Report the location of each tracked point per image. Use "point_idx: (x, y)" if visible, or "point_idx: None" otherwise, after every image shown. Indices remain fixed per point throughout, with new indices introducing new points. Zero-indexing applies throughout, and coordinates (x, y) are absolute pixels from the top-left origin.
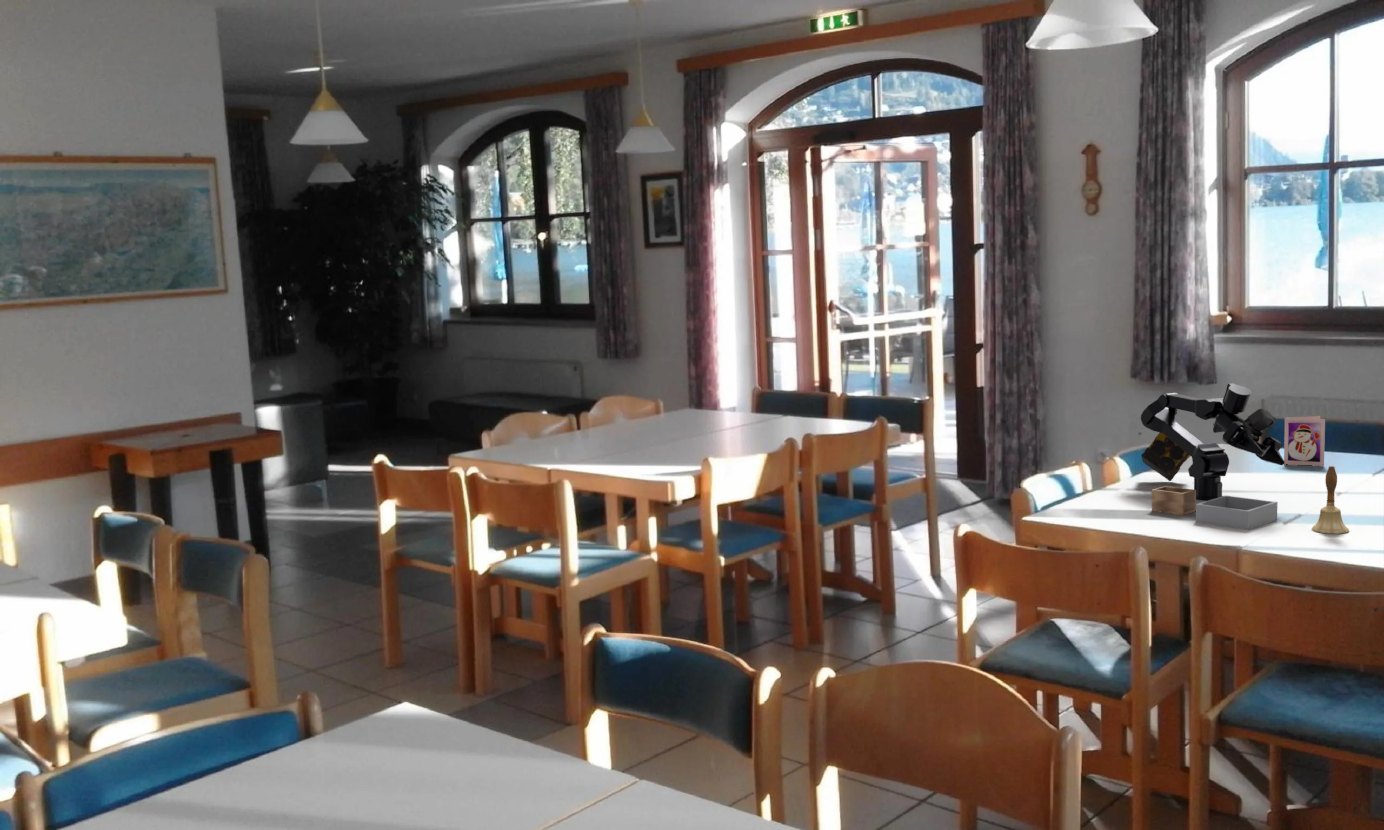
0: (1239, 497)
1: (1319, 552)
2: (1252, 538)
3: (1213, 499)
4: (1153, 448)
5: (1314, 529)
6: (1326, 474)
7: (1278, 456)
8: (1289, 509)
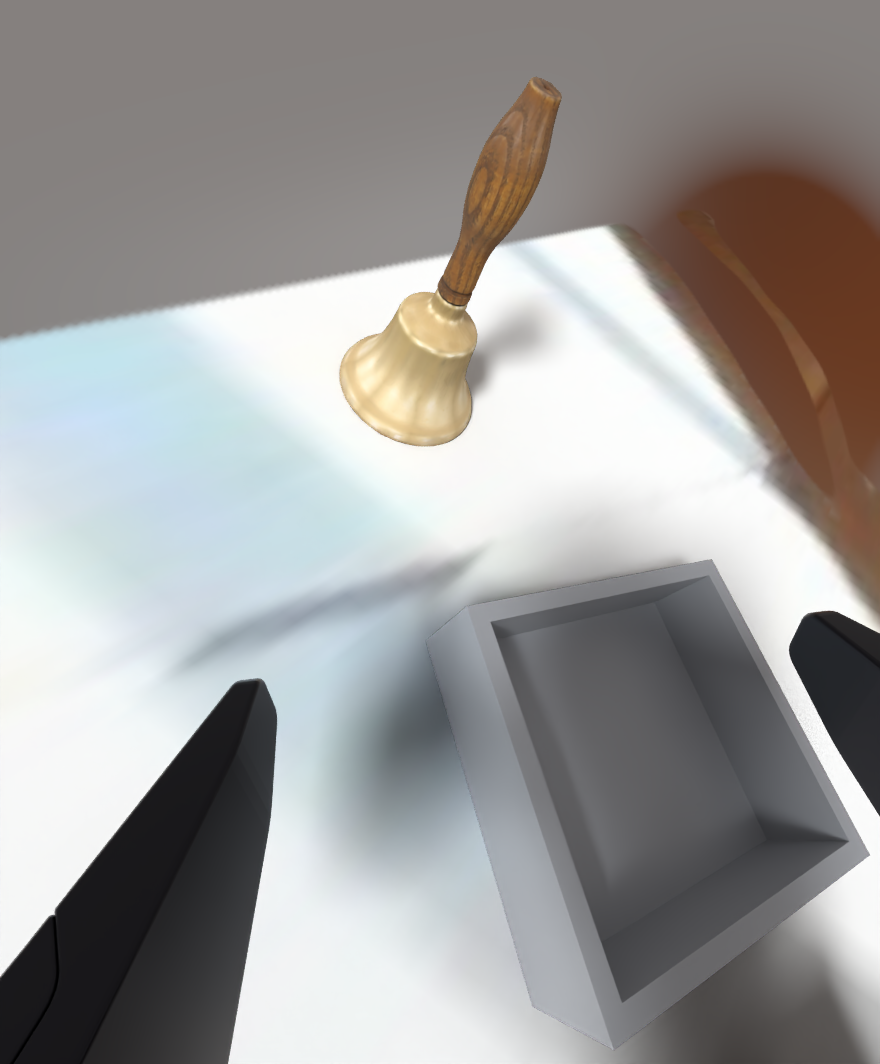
0: (569, 890)
1: (628, 324)
2: (698, 504)
3: (747, 934)
4: None
5: (469, 416)
6: (544, 163)
7: (203, 845)
8: (61, 832)
